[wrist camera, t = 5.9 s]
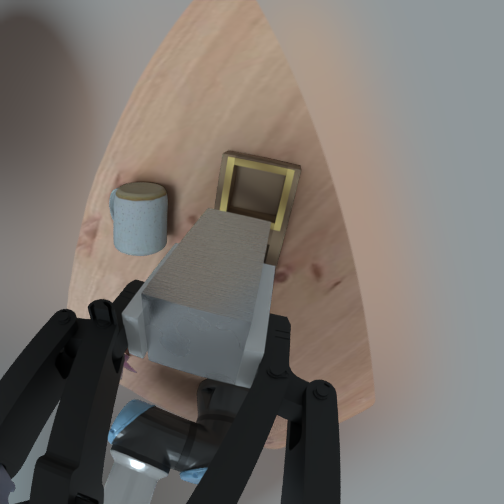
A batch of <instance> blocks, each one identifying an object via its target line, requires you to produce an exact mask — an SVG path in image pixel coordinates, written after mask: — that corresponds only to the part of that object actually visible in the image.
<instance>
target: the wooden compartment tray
mask: <svg viewBox="0 0 504 504" xmlns="http://www.w3.org/2000/svg"><path fill="white" fill-rule="evenodd" d="M300 173H301V167H300V165H296V164H292V163H287V162H283V161H278V160H274V159H269V158H265V157H260V156H255V155H250V154H245V153H239V152H234V151H227V152H225V153H223V156H222V162H221V168H220V175H219V181H218V188H217V195H216V201H215V210H220V211H225V212H230V213H234V214H239V215H243V216H248V217H252V218H257V219H261V220H266V221H270V222H271V226H270V231H269V236H268V242H267V247H266V252H265V257H264V264H268V265H273V266H275V270H276V266H277V262H278V259H279V255H280V251H281V247H282V244H283V240H284V236H285V232H286V229H287V225H288V221H289V217H290V213H291V209H292V205H293V201H294V197H295V193H296V189H297V185H298V181H299V177H300Z"/></svg>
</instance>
